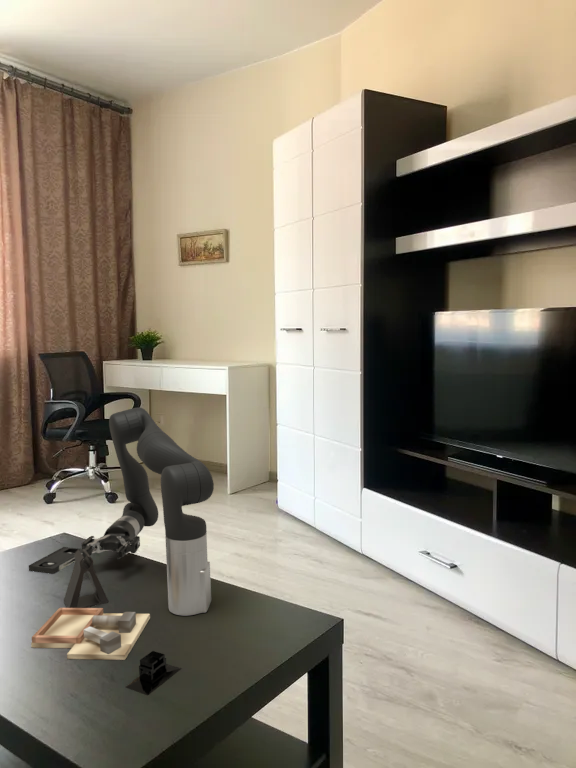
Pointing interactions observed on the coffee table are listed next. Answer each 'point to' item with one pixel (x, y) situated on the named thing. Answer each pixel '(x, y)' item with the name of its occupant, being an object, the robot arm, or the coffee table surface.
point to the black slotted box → (152, 673)
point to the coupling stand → (91, 633)
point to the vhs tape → (55, 561)
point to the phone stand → (76, 582)
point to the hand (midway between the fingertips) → (101, 555)
